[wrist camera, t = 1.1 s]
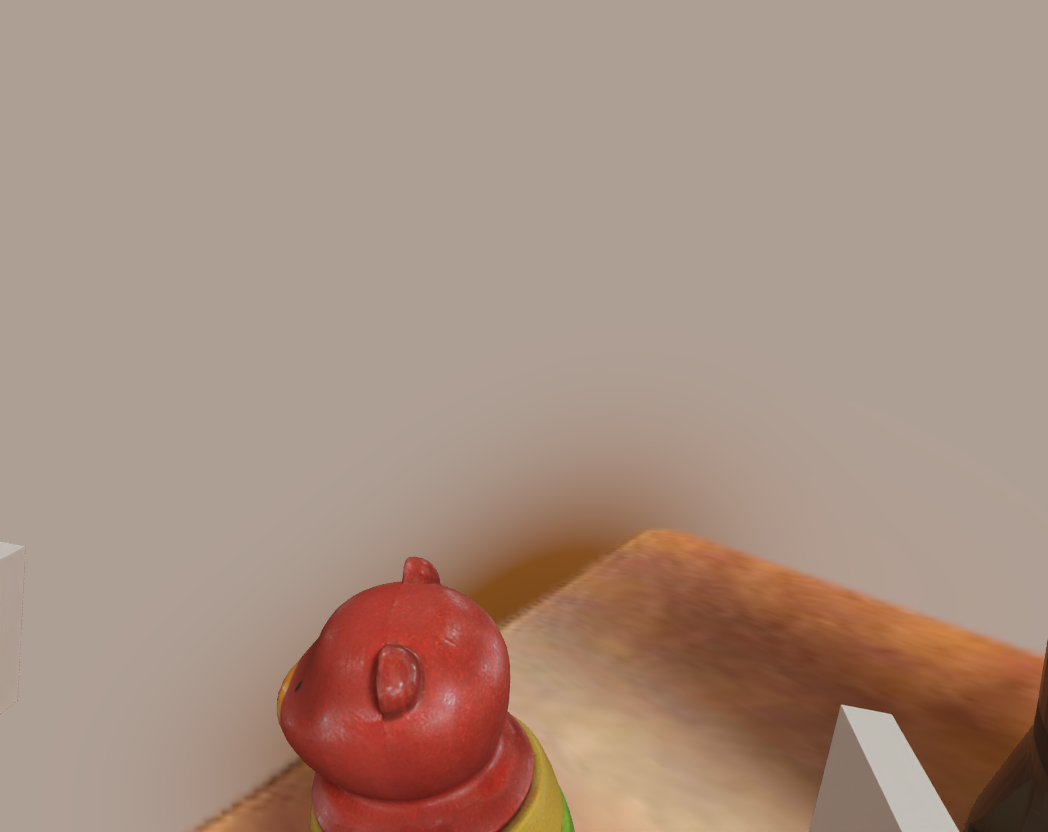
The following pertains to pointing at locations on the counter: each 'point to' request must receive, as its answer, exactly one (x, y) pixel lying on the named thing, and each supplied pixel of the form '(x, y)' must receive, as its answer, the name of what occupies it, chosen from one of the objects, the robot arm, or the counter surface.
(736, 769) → the counter surface
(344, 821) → the stacking bear
